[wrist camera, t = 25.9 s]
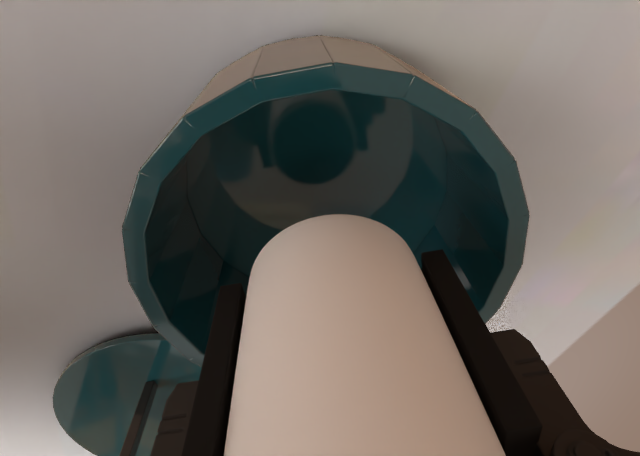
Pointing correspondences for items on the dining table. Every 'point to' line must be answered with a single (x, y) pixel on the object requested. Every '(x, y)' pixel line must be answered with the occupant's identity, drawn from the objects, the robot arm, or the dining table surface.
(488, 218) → the pot
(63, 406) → the lid
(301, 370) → the can
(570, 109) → the dining table surface
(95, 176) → the dining table surface
